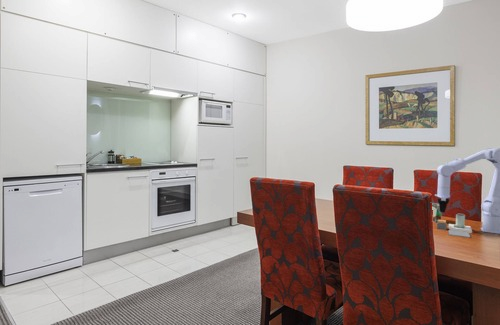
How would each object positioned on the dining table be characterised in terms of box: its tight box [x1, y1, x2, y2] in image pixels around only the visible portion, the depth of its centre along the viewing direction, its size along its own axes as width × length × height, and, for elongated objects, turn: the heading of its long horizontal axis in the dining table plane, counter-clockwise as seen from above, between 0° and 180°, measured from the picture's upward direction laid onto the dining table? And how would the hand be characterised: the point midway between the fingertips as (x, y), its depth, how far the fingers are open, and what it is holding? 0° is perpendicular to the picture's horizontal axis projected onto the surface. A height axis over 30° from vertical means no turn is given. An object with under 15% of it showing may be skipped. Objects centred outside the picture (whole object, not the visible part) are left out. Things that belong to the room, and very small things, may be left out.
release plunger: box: [438, 219, 447, 224], centre depth 176 cm, size 4×4×4 cm
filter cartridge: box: [455, 213, 466, 228], centre depth 174 cm, size 4×4×9 cm
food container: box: [431, 202, 443, 224], centre depth 194 cm, size 12×6×10 cm, turn 179°
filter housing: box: [436, 222, 473, 234], centre depth 175 cm, size 16×10×3 cm, turn 60°
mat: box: [447, 229, 471, 238], centre depth 165 cm, size 9×9×1 cm
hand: (442, 212), depth 175 cm, fingers closed
